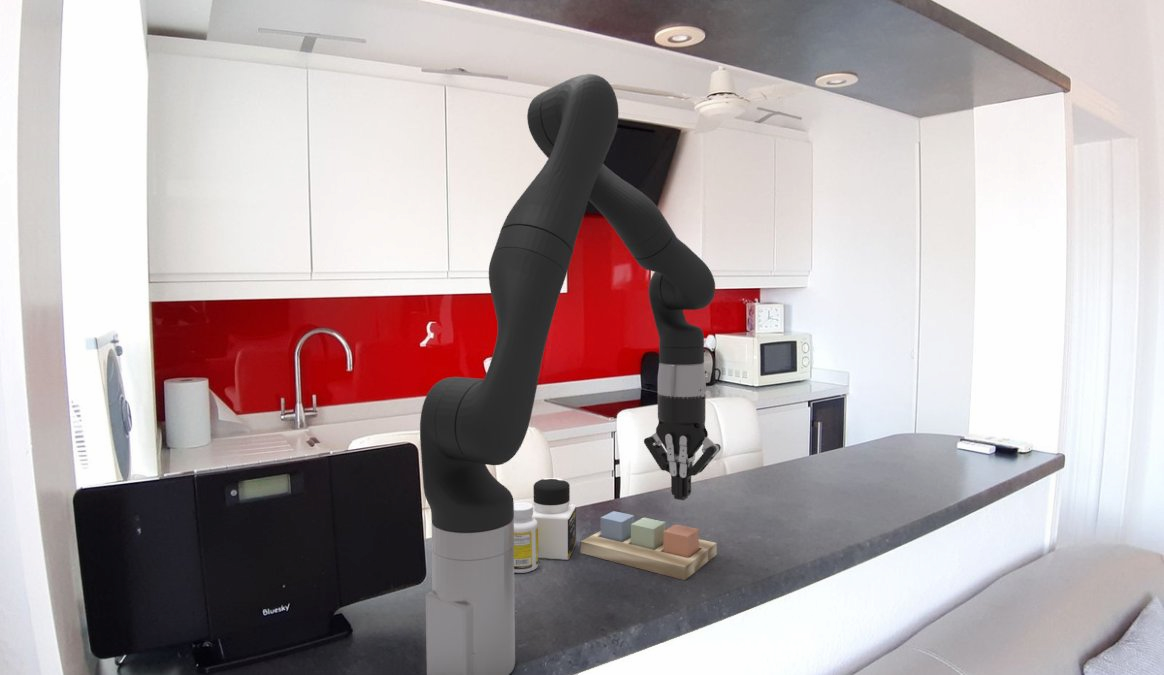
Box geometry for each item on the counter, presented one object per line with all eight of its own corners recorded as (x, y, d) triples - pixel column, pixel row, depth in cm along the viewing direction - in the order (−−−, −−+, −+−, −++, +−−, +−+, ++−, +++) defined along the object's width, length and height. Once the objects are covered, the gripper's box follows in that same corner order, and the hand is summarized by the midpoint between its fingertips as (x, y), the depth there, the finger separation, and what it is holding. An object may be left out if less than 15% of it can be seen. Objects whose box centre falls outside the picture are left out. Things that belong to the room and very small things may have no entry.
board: (684, 580, 99) (684, 567, 99) (580, 553, 110) (580, 541, 110) (716, 554, 109) (716, 543, 109) (618, 532, 120) (618, 521, 120)
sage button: (653, 550, 106) (653, 529, 106) (630, 545, 109) (630, 524, 109) (665, 542, 110) (665, 522, 110) (643, 537, 112) (643, 517, 112)
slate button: (621, 542, 110) (621, 522, 110) (600, 537, 112) (600, 517, 112) (634, 535, 113) (634, 515, 113) (613, 530, 116) (613, 511, 115)
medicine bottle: (568, 560, 107) (568, 487, 106) (526, 558, 108) (525, 485, 107) (576, 544, 114) (576, 476, 113) (536, 542, 115) (535, 474, 114)
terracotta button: (687, 558, 103) (687, 536, 103) (663, 552, 105) (663, 531, 105) (698, 550, 106) (698, 529, 106) (675, 544, 109) (675, 524, 109)
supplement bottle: (521, 557, 108) (520, 498, 107) (545, 566, 105) (545, 505, 104) (496, 568, 104) (496, 506, 103) (521, 577, 100) (520, 513, 100)
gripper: (633, 391, 105) (633, 497, 106) (710, 397, 98) (710, 512, 99) (655, 385, 111) (655, 486, 112) (730, 391, 104) (729, 499, 105)
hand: (681, 498), depth 106 cm, fingers closed
